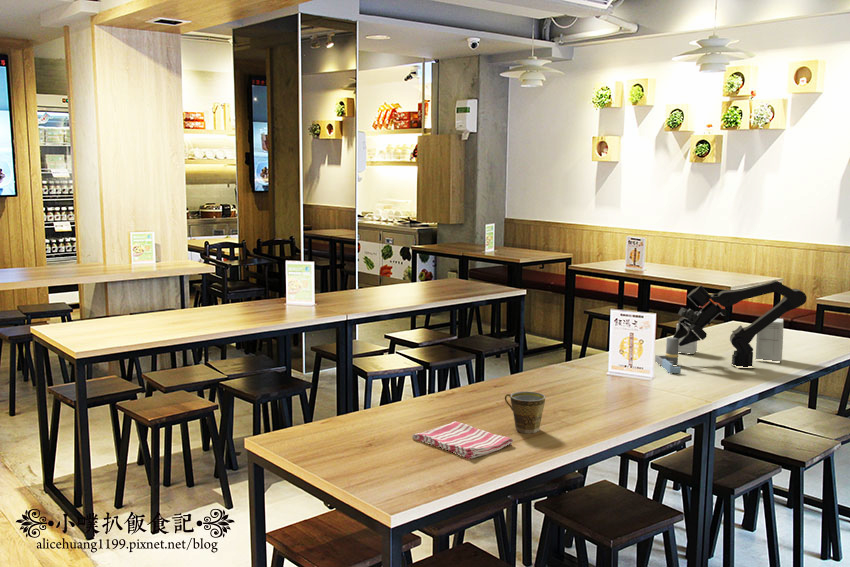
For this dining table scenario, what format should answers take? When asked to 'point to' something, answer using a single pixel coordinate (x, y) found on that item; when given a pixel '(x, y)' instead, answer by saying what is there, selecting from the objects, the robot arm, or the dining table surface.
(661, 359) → the duct rail
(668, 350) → the gray banded cylinder
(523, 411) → the ceramic cup
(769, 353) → the supplement box
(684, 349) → the supplement box
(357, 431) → the dining table surface
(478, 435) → the dish towel
